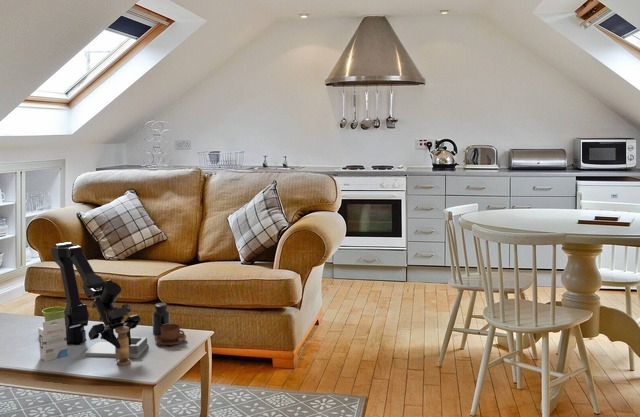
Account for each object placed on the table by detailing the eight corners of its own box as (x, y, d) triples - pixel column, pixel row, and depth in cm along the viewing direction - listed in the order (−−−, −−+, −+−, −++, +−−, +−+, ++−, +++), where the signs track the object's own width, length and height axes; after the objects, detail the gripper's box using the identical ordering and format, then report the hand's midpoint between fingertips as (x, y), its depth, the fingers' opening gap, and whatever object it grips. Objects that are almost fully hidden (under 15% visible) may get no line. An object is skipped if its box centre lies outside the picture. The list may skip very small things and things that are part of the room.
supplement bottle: (165, 336, 275) (164, 307, 273) (150, 335, 276) (149, 306, 275) (172, 330, 282) (171, 302, 280) (157, 329, 283) (156, 301, 281)
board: (85, 355, 253) (84, 345, 253) (98, 344, 265) (97, 334, 264) (137, 357, 251) (137, 347, 251) (148, 346, 263) (148, 336, 263)
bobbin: (114, 365, 244) (113, 330, 242) (119, 360, 248) (118, 326, 246) (127, 365, 243) (126, 330, 241) (132, 361, 248) (131, 326, 246)
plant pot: (40, 329, 284) (39, 308, 283) (64, 325, 289) (63, 305, 288) (45, 335, 276) (44, 314, 275) (69, 331, 281) (68, 310, 280)
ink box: (62, 352, 257) (60, 314, 255) (68, 355, 253) (65, 317, 251) (39, 358, 251) (37, 319, 249) (44, 361, 247) (42, 322, 245)
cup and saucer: (188, 337, 274) (188, 322, 274) (183, 347, 263) (182, 331, 262) (158, 337, 274) (158, 322, 273) (151, 347, 262) (151, 332, 262)
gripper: (90, 303, 238) (109, 341, 232) (137, 292, 252) (156, 328, 246) (80, 321, 244) (98, 358, 239) (126, 309, 258) (144, 344, 253)
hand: (125, 346), depth 244 cm, fingers open, 4 cm apart
